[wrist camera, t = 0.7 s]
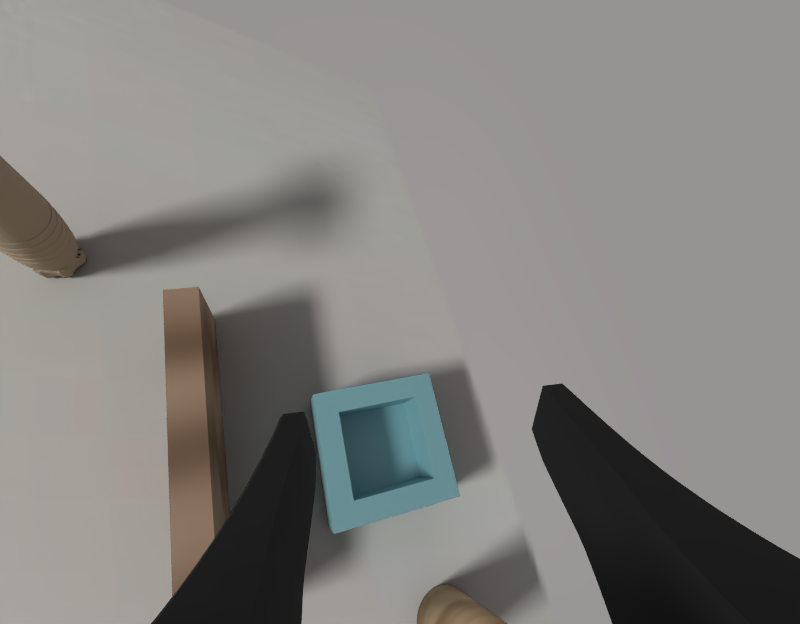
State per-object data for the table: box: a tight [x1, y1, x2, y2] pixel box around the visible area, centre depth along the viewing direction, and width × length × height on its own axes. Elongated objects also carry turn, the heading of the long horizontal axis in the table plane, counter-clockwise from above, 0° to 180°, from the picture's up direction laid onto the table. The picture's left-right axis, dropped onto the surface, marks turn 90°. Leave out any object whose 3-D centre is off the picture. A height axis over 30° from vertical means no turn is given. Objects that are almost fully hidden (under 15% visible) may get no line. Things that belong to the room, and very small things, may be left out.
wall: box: [163, 287, 230, 596], centre depth 24 cm, size 20×2×6 cm, turn 13°
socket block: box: [310, 373, 460, 534], centre depth 28 cm, size 9×9×4 cm
